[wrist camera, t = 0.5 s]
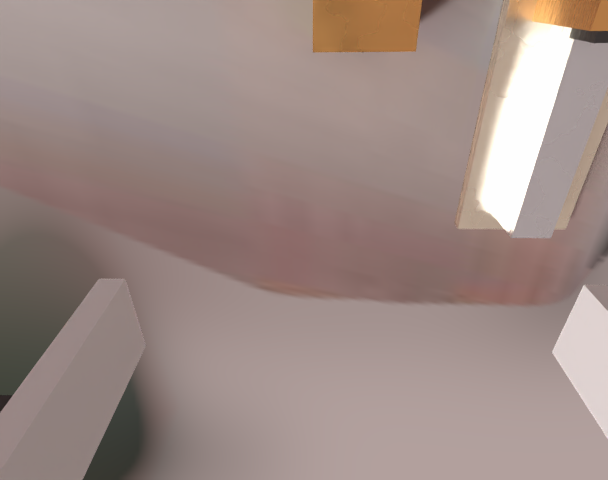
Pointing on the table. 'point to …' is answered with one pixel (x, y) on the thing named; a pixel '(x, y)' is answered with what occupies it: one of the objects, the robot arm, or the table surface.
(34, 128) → the table surface
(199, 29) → the table surface
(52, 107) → the table surface
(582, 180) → the rail
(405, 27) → the orange cube
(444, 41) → the table surface
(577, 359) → the robot arm
